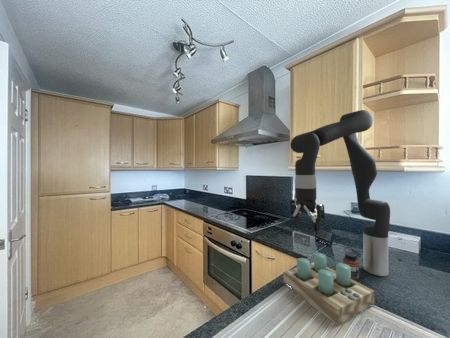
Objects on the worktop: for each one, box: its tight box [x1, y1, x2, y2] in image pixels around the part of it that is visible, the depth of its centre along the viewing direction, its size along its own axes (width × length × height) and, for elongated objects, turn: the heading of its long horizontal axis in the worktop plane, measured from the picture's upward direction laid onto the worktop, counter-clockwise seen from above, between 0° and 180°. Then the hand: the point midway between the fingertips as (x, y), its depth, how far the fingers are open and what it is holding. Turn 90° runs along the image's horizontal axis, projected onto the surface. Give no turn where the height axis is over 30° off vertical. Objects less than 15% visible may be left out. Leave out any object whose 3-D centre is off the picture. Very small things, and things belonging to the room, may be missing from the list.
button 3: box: [318, 269, 333, 294], centre depth 69 cm, size 5×5×6 cm
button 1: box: [296, 257, 311, 279], centre depth 78 cm, size 5×5×6 cm
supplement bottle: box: [342, 251, 360, 283], centre depth 84 cm, size 6×6×11 cm
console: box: [283, 261, 375, 326], centre depth 75 cm, size 20×24×5 cm
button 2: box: [313, 252, 328, 271], centre depth 82 cm, size 5×5×6 cm
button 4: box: [335, 262, 351, 286], centre depth 73 cm, size 5×5×6 cm
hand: (306, 228), depth 74 cm, fingers open, 8 cm apart
